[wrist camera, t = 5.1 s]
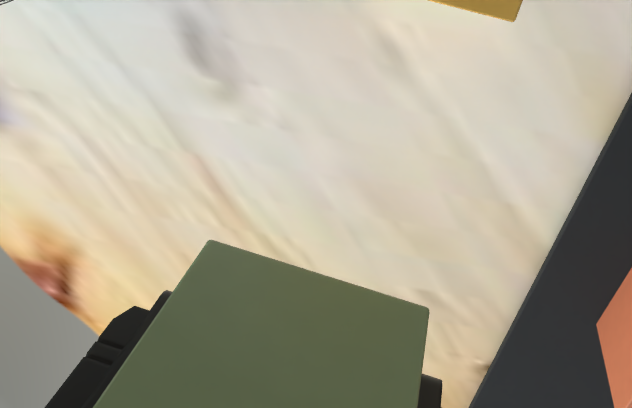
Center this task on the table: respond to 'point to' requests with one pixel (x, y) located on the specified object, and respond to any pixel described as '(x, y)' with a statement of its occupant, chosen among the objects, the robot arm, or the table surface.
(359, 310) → the letter L
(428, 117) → the table surface
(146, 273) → the table surface
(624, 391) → the letter I
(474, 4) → the yellow cube
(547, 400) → the word mat
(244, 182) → the table surface
